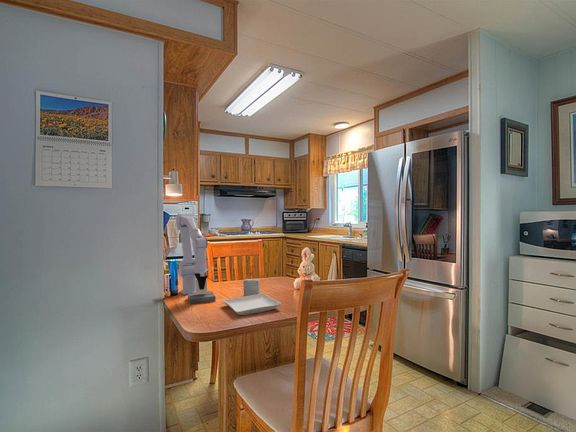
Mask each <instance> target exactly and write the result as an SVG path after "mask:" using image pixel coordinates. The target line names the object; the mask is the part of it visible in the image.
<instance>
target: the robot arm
mask: <svg viewBox="0 0 576 432" xmlns="http://www.w3.org/2000/svg"><path fill="white" fill-rule="evenodd" d="M196 222H197V215H196V214H195V213H194V212H192V213H179V212H178V213H177V214H176V216H175V224H176V225H175V226H176V229H177V230H178V231H180V238H181V239H180V240H181V247H182V256H183V257H182V260H181V261H180V262H179V264H178V274H179V275H178V276H179V277H181V278H182V279H181V281H182V289H181V290H180V292H181V294H182V295H184V296H185V295H188V294H190V293H196V281H195V280H198V284H199V289H200V290H202V289H204V288H205V282H206V280H207V279H208V274H206V272H209V271H210V269H208V268H207V249H208V245H209V241H208V238H207V237H206V236H205V235H203V234H202V232H201V229H199V228H198V227H197V225H196ZM191 242H192V243H191ZM192 249H193V250H192ZM193 253H194V255H193ZM193 256H194V258H193Z"/></svg>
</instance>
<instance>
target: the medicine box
mask: <svg viewBox="0 0 576 432" xmlns="http://www.w3.org/2000/svg"><path fill="white" fill-rule="evenodd" d="M260 281H261V280H260V278H245V279H244V280H243V282H242V283H243V285H242V286H243V297H244V296H250V295H257V294H261V286H260V285H261V282H260Z"/></svg>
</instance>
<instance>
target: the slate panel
mask: <svg viewBox="0 0 576 432" xmlns="http://www.w3.org/2000/svg"><path fill="white" fill-rule="evenodd" d="M187 299H188V302H189V304H190V305H198V304H205V303H206V304H207V303H213V302H216V301H217V300H216V295H215V294H214V292H213V291H212V290H210V291H209V290H207V293H199V294H197V293H190V294H187Z"/></svg>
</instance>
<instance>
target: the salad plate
mask: <svg viewBox="0 0 576 432" xmlns="http://www.w3.org/2000/svg"><path fill="white" fill-rule="evenodd" d="M222 302H223V303H224V305H226V306H228V307H229V308H230V309H231V310H232V311H234V313H235V314H237V315H238V316H246V314H247V315H252V314H256V313H257V314H258V313H262V312H263V313H264V312H268V311H271V310H275V309H277V308H279V307H281V306H282V303H281V302H280V301H278V300H276V299H274V298H272V297H271V296H269V295H267V294H265V293H260V294H257V295H250V296H244V295H243V296H240V297H234V298H228V299H223V300H222Z"/></svg>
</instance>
